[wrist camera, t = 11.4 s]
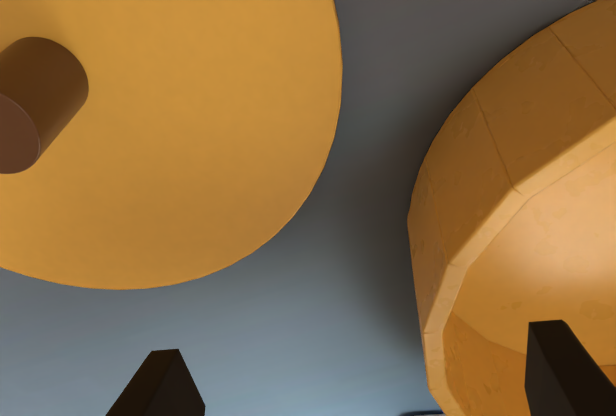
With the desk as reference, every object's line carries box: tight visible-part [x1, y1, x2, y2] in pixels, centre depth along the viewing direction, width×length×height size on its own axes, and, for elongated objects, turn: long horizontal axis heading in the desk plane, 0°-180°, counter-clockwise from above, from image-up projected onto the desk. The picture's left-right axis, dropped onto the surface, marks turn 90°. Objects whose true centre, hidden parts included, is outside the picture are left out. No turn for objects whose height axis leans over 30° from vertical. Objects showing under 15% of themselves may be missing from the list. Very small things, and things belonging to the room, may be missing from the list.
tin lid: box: [0, 0, 343, 290], centre depth 17 cm, size 18×18×5 cm
